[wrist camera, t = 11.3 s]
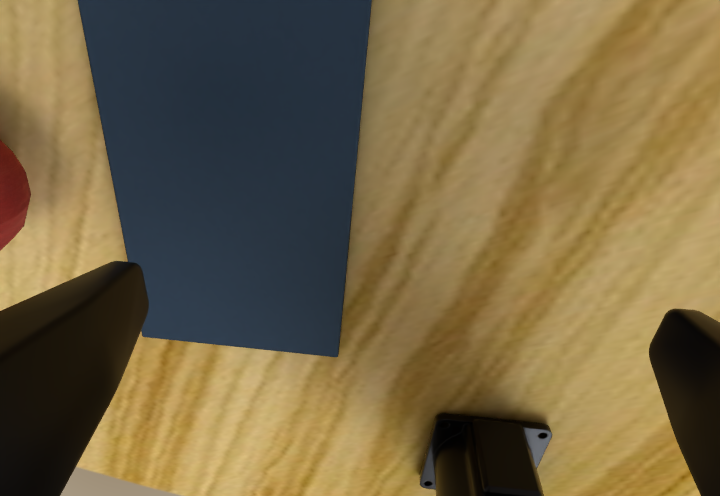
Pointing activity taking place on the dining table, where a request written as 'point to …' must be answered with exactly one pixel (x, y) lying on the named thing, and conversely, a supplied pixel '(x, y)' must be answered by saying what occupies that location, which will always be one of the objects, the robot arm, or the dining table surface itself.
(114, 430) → the dining table surface
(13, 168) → the onion
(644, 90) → the dining table surface
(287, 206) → the mat
